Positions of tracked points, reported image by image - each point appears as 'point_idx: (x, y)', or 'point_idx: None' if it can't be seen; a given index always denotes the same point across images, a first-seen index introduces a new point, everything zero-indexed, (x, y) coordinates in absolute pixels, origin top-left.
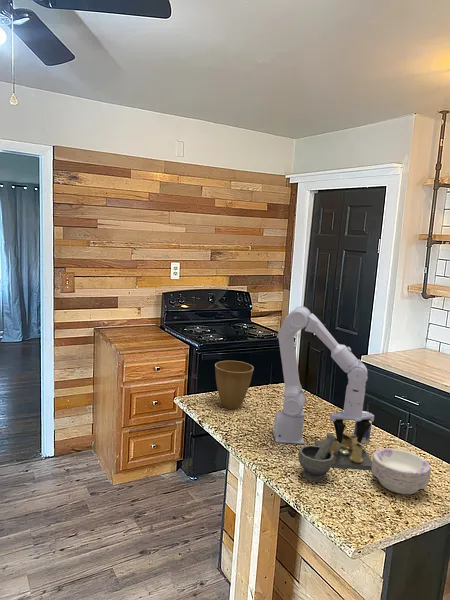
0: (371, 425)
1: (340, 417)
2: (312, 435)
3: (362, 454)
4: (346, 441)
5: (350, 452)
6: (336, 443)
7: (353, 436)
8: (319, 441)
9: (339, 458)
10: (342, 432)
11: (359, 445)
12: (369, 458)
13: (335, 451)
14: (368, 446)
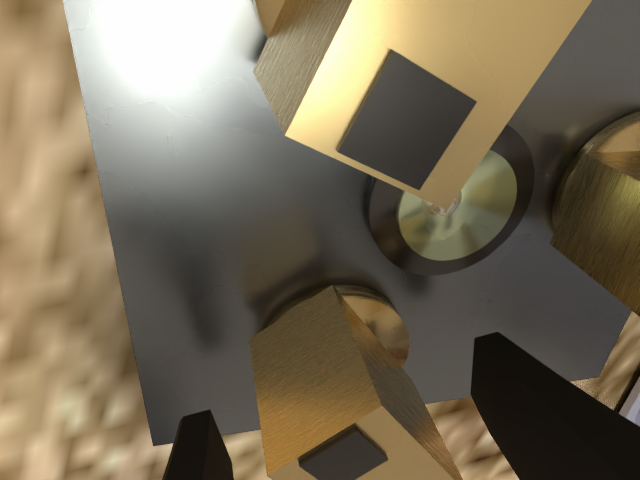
0: None
1: None
2: (507, 468)
3: (188, 206)
4: (396, 383)
5: (378, 192)
6: None
7: (341, 467)
8: (567, 376)
9: (595, 13)
10: (630, 463)
11: (398, 105)
12: (94, 84)
13: (601, 155)
14: (41, 459)
